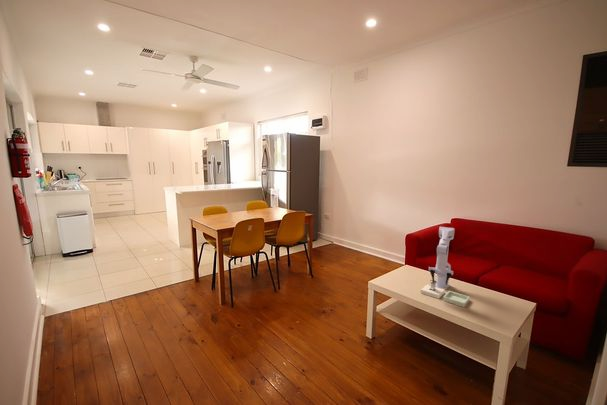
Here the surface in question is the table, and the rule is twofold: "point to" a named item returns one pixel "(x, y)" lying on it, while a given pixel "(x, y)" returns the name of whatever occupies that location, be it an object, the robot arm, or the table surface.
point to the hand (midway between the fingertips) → (439, 282)
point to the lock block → (436, 293)
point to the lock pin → (433, 285)
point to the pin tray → (456, 298)
